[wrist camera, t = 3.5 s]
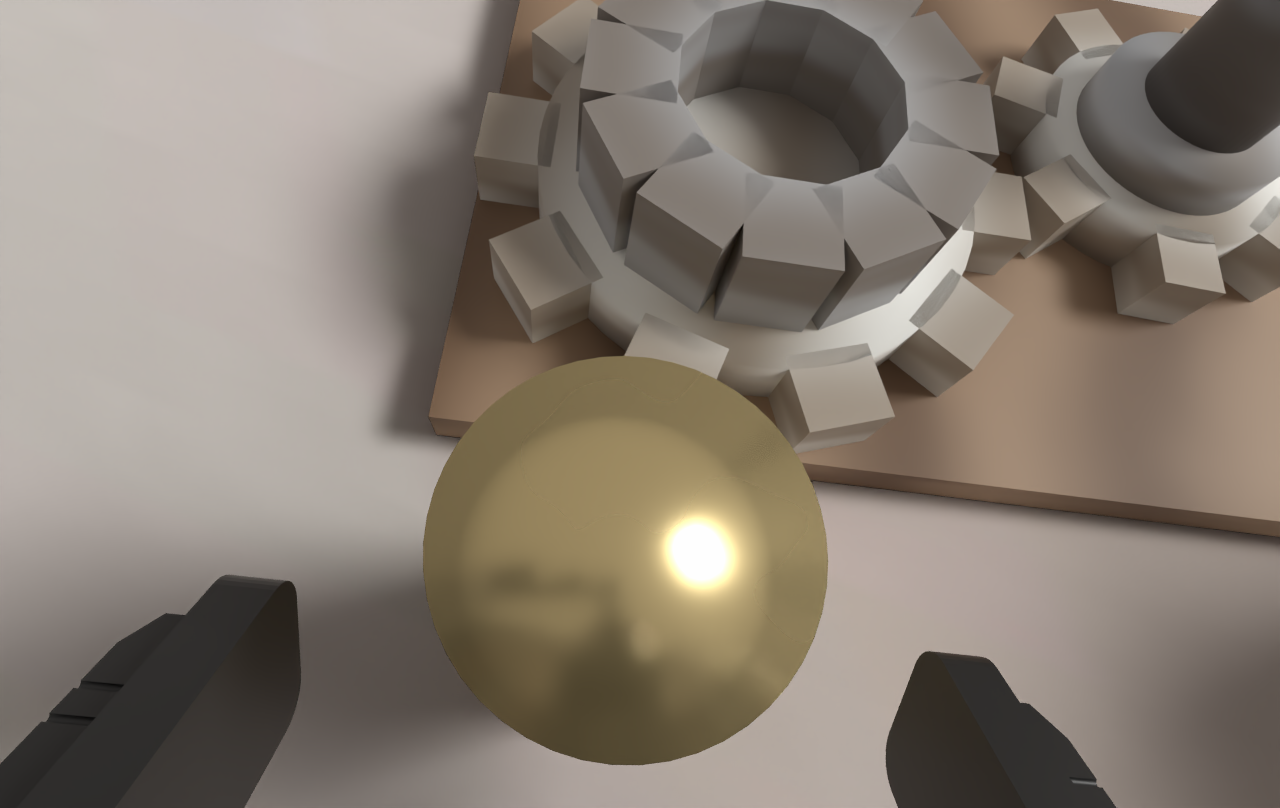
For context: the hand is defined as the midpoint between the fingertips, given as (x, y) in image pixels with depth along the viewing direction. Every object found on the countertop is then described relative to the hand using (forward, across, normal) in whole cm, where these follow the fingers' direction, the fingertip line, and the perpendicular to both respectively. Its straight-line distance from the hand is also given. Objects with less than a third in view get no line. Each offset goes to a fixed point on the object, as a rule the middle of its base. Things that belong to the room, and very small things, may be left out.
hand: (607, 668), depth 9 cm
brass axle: (+5, 0, +4) cm, 7 cm away
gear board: (+14, -8, -5) cm, 17 cm away
